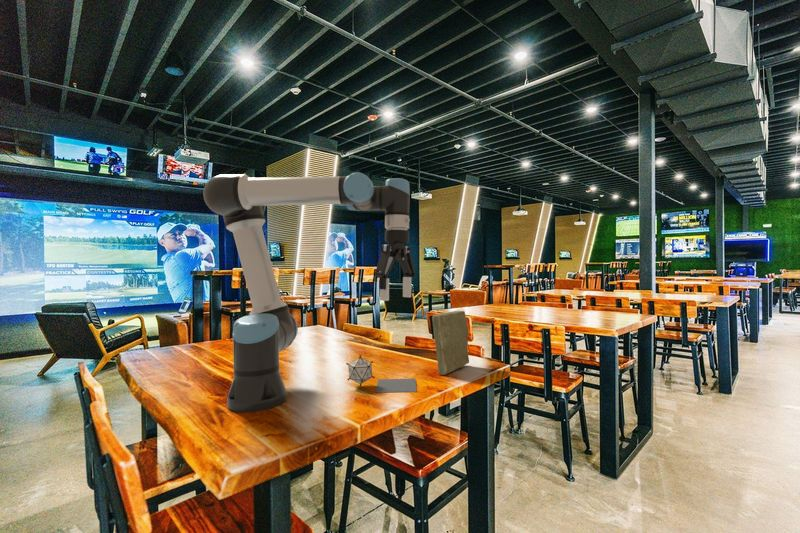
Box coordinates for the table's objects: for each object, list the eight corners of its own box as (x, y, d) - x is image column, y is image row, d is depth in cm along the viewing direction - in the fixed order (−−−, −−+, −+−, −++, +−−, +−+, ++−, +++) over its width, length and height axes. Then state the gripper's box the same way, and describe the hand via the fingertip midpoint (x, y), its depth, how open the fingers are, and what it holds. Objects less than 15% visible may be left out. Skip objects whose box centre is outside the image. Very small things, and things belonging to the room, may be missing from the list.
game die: (377, 382, 116) (376, 351, 116) (372, 392, 108) (372, 358, 107) (349, 382, 117) (349, 351, 117) (343, 391, 108) (342, 357, 108)
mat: (375, 393, 106) (375, 392, 106) (378, 380, 118) (378, 379, 118) (416, 392, 106) (416, 391, 106) (415, 379, 118) (415, 378, 118)
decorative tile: (447, 376, 121) (446, 316, 121) (432, 373, 124) (431, 315, 124) (472, 364, 136) (472, 310, 136) (458, 361, 139) (457, 309, 139)
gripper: (385, 225, 100) (384, 302, 100) (425, 232, 122) (425, 296, 122) (363, 226, 104) (362, 301, 104) (406, 233, 125) (405, 295, 126)
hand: (396, 298), depth 113 cm, fingers open, 13 cm apart
